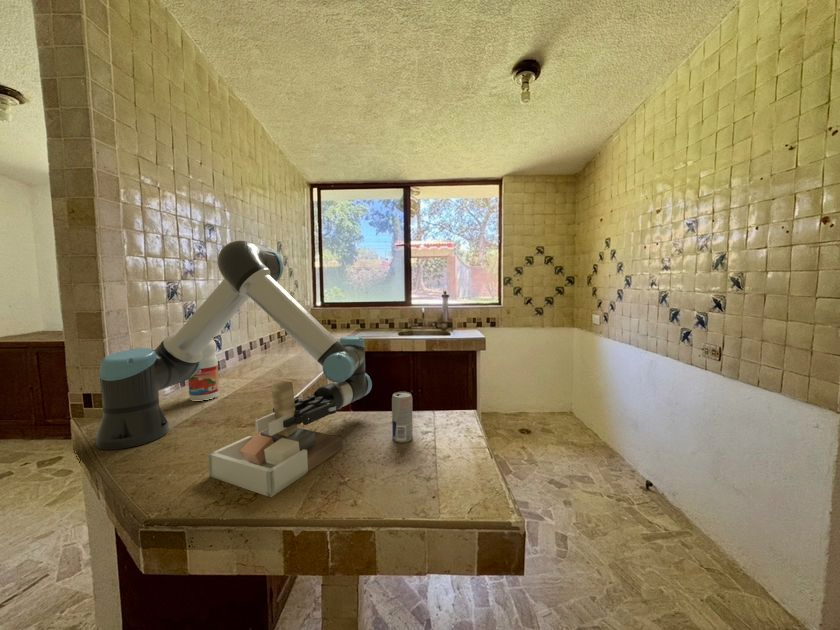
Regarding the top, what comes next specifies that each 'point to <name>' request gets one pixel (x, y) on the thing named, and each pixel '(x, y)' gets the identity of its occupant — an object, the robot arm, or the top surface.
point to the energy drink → (402, 417)
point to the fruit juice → (205, 376)
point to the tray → (255, 469)
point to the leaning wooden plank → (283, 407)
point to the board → (323, 449)
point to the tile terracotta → (256, 449)
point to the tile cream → (281, 451)
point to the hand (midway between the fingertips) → (263, 427)
